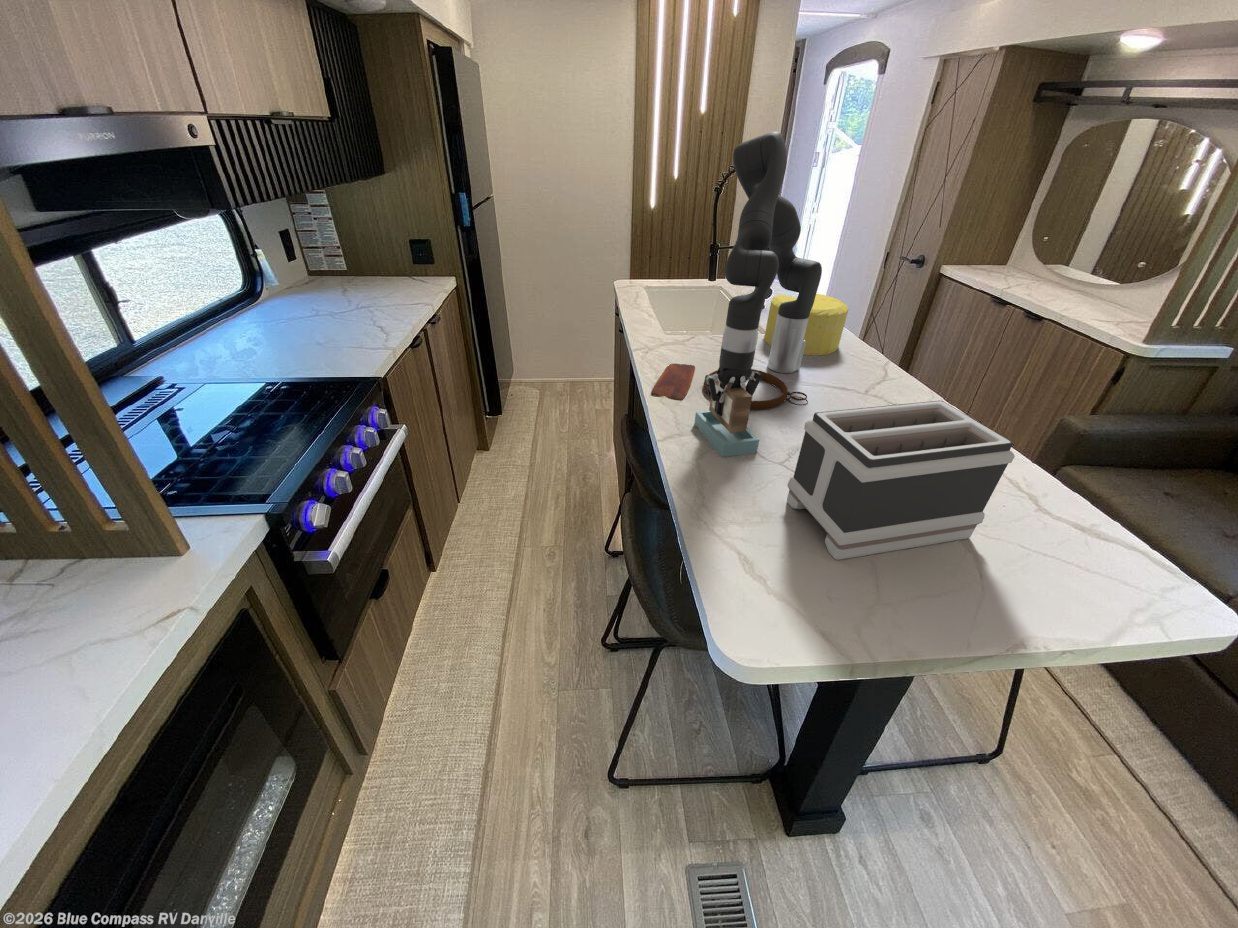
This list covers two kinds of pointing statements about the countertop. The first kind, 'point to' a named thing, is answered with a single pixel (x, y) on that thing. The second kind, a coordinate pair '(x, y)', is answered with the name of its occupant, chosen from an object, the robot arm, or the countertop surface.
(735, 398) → the picture frame
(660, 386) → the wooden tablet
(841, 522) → the toaster
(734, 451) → the light blue rectangular tray
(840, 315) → the cheese
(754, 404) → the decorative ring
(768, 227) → the robot arm
